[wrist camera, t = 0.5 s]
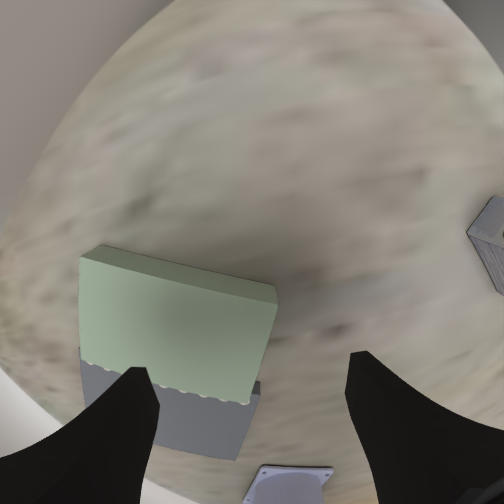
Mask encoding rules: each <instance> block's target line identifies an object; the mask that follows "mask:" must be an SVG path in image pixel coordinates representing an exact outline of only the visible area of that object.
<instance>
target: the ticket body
mask: <svg viewBox="0 0 504 504" xmlns="http://www.w3.org/2000/svg"><path fill="white" fill-rule="evenodd" d="M79 356H80V367H81V377H82V385H83V393H84V400H85V406H86V408H87V407H88V406H90V405H91V404H92V403H93V402H94V401H95V400H96V399H97V398H98V397H99V396H101V395H102V394H103V393H104V392H105V391H106V390H107V389H108V388H109V387H110V386H111V385H112V384H113V383H114V382H115V381H116V380H117V379H118V378H119V377H120V376H121V375H122V374H121V373H118V372H115V371H112V370H109V369H106V368H103V367H100V366H98V365H95V364H92V363H89V362H87V361H84V360H82V359H81V351H80V347H79ZM152 385H153V388H154V391H155V393H156V396H157V398H158V401H159V403H160V411H159V419H158V426H157V431H156V434H155V438H154V441H153V444H155V445H159V446H163V447H167V448H171V449H175V450H179V451H184V452H188V453H193V454H198V455H203V456H208V457H214V458H220V459H226V460H233V461H236V458H237V456H238V453H239V451H240V448H241V446H242V443H243V440H244V438H245V435H246V433H247V430H248V427H249V425H250V422H251V419H252V417H253V414H254V411H255V408H256V406H257V403H258V400H259V397H260V383H259V382H255V383H254V386H253V390H252V393H251V396H250V398H249V401H248V404H246V403H240V402H234V401H228V400H223V399H218V398H213V397H208V396H203V395H199V394H194V393H190V392H186V391H181V390H177V389H173V388H169V387H165V386H162V385H158V384H154V383H152Z"/></svg>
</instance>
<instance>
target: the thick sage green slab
mask: <svg viewBox="0 0 504 504" xmlns="http://www.w3.org/2000/svg"><path fill="white" fill-rule="evenodd" d="M278 307H279V302H278V298H277V294H276V289H275V286H274V285H269V284H265V283H260V282H256V281H251V280H247V279H242V278H238V277H233V276H229V275H224V274H220V273H215V272H211V271H207V270H202V269H198V268H194V267H189V266H185V265H181V264H177V263H173V262H168V261H164V260H160V259H156V258H152V257H148V256H144V255H140V254H136V253H132V252H128V251H124V250H120V249H116V248H112V247H108V246H104V245H100V246H98V247H96V248H94V249H92V250H91V251H89V252H87V253H85V254H83V255H82V256H80V262H79V334H80V351H81V359H82V360H84V361H87V362H89V363H92V364H95V365H98V366H100V367H103V368H106V369H109V370H112V371H115V372H118V373H121V374H123V373H124V372H125V371H127V370H128V369H129V368H130V367H146V369H147V371H148V374H149V377H150V380H151V383H154V384H158V385H162V386H165V387H169V388H173V389H177V390H181V391H186V392H190V393H194V394H199V395H203V396H208V397H213V398H218V399H223V400H228V401H234V402H240V403H246V404H248V401H249V398H250V396H251V393H252V390H253V386H254V383H255V380H256V377H257V374H258V371H259V368H260V365H261V362H262V359H263V356H264V352H265V349H266V346H267V343H268V340H269V336H270V333H271V330H272V327H273V323H274V320H275V317H276V314H277V310H278Z"/></svg>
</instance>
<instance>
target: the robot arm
mask: <svg viewBox="0 0 504 504" xmlns="http://www.w3.org/2000/svg"><path fill="white" fill-rule="evenodd" d="M345 396H346V401H347V405H348V409H349V412H350V416H351V419H352V422H353V424H354V427H355V429H356V432H357V434H358V437H359V439H360V442H361V444H362V447H363V449H364V452H365V454H366V457H367V459H368V462H369V465H370V468H371V471H372V475H373V479H374V483H375V487H376V491H377V496H378V501H379V504H504V430H500V429H497V428H493V427H490V426H486V425H483V424H480V423H477V422H475V421H472V420H470V419H467V418H465V417H463V416H460V415H458V414H456V413H454V412H452V411H450V410H448V409H446V408H444V407H443V406H441V405H439V404H437V403H435V402H434V401H432V400H431V399H429V398H427V397H426V396H424V395H423V394H421V393H420V392H418V391H417V390H416V389H414V388H413V387H411V386H410V385H409V384H407V383H406V382H405V381H403V380H402V379H401V378H399V377H398V376H397V375H396V374H394V373H393V372H392V371H391V370H390V369H388V368H387V367H386V366H385V365H384V364H382V363H381V362H380V361H379V360H378V359H376V358H375V357H374V356H373V355H372V354H370V353H369V352H368V351H361V352H355V353H351V354H350V362H349V369H348V376H347V383H346V389H345ZM159 411H160V403H159V401H158V398H157V396H156V393H155V391H154V388H153V385H152V383H151V380H150V377H149V374H148V371H147V369H146V367H130V368H129V369H128V370H127V371H125V372H124V373H123V374H122V375H121V376H120V377H119V378H118V379H117V380H116V381H115V382H114V383H113V384H112V385H111V386H110V387H109V388H108V389H107V390H106V391H105V392H104V393H103V394H102V395H101V396H99V397H98V398H97V399H96V400H95V401H94V402H93V403H92V404H91V405H90V406H88V407H87V408H86V409H85V410H84V411H83V412H81V413H80V414H79V415H78V416H77V417H75V418H74V419H73V420H72V421H70V422H69V423H68V424H66V425H65V426H63V427H62V428H60V429H59V430H58V431H56V432H55V433H53V434H51V435H50V436H48V437H46V438H44V439H43V440H41V441H39V442H37V443H35V444H33V445H32V446H30V447H27V448H25V449H23V450H20V451H18V452H16V453H13V454H11V455H7V456H4V457H1V458H0V504H140V496H141V488H142V483H143V478H144V474H145V470H146V466H147V463H148V459H149V456H150V452H151V449H152V445H153V441H154V438H155V434H156V431H157V426H158V419H159ZM333 472H334V470H333V468H297V467H278V466H262V467H261V468H260V470H259V471H258V473H257V475H256V477H255V479H254V481H253V483H252V484H251V486H250V488H249V490H248V492H247V494H246V495H245V497H244V499H243V501H242V503H243V504H325V502H324V497H323V492H322V486H323V485H324V483H325V482H326V481H327V480H328V479H329V477H330V476H331V475H332V474H333Z"/></svg>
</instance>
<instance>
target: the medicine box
mask: <svg viewBox="0 0 504 504" xmlns="http://www.w3.org/2000/svg"><path fill="white" fill-rule="evenodd" d="M467 234H468V236H469V237H470V239H471V241H472V243H473V244H474V246H475V248H476V250H477V252H478V253H479V255H480V257H481V259H482V261H483V263H484V265H485V267H486V269H487V271H488V272H489V275H490V277H491V279H492V281H493V283H494V285H495V287H496V289H497V292H498V293H499V294H501V295H503V296H504V198H500V197H493V198H492V199H491V200H490V201H489V203H488V204H487V205H486V207H485V208H484V209H483V211H482V212H481V213H480V215H479V216H478V218H477V219H476V220H475V221H474V223H473V224H472V225H471V227H470V228H469V230H468V231H467Z"/></svg>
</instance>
